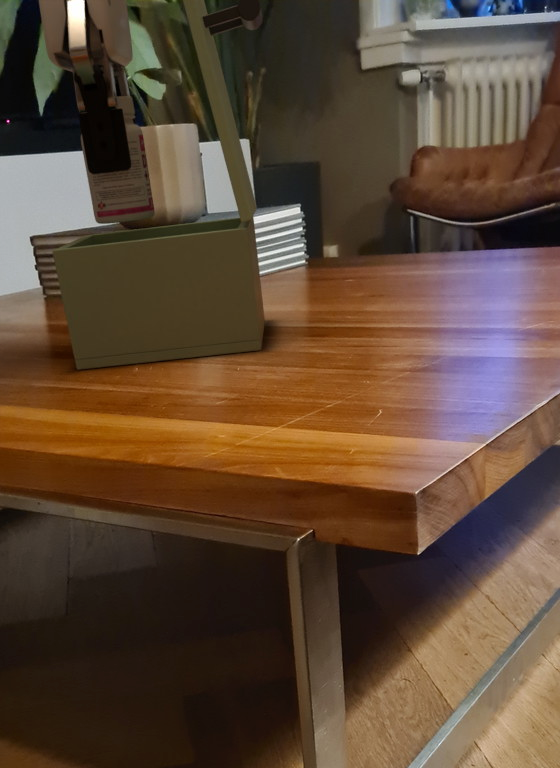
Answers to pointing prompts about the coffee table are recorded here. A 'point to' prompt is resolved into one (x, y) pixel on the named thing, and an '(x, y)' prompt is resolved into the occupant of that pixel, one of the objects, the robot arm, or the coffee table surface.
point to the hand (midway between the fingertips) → (116, 168)
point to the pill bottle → (123, 179)
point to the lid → (224, 87)
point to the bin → (162, 293)
